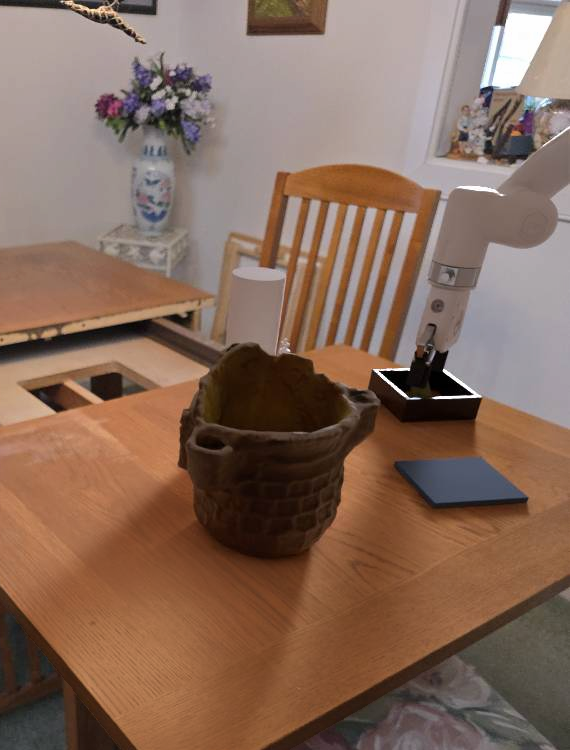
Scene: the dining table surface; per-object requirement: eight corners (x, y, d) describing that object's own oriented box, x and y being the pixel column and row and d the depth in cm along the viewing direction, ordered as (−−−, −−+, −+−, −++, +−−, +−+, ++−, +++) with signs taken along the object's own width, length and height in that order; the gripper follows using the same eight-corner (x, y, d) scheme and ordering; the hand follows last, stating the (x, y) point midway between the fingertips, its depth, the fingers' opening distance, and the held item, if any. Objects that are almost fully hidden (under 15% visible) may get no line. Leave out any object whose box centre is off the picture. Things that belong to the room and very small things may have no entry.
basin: (436, 388, 130) (441, 367, 128) (475, 419, 119) (482, 397, 117) (367, 390, 127) (371, 369, 125) (401, 422, 116) (407, 399, 114)
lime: (416, 397, 126) (423, 370, 123) (439, 406, 123) (446, 379, 120) (400, 402, 124) (407, 374, 121) (422, 412, 120) (429, 384, 118)
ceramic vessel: (388, 570, 67) (259, 339, 62) (201, 622, 83) (84, 441, 78) (434, 470, 84) (335, 280, 78) (270, 529, 100) (178, 374, 94)
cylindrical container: (206, 442, 107) (221, 271, 93) (237, 429, 111) (255, 264, 97) (242, 459, 103) (263, 283, 89) (272, 445, 107) (297, 275, 93)
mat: (479, 461, 106) (481, 456, 106) (527, 502, 96) (529, 497, 96) (393, 465, 104) (394, 460, 103) (433, 508, 94) (435, 503, 93)
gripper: (462, 290, 103) (431, 399, 113) (491, 270, 115) (460, 370, 125) (412, 280, 106) (386, 387, 116) (445, 261, 119) (418, 359, 128)
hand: (424, 378), depth 120 cm, fingers open, 9 cm apart
